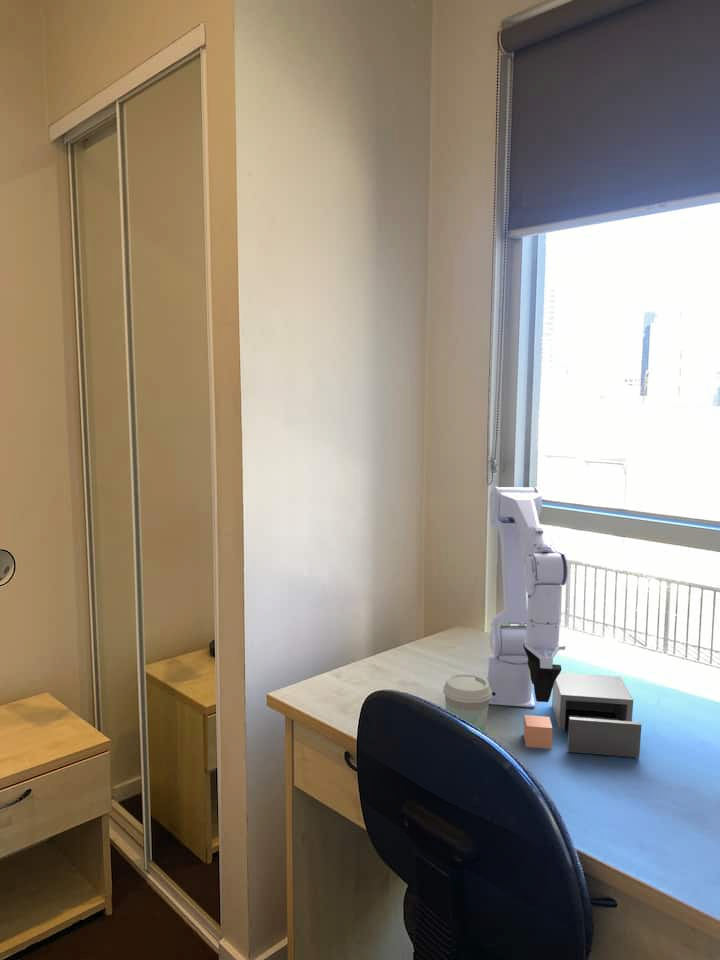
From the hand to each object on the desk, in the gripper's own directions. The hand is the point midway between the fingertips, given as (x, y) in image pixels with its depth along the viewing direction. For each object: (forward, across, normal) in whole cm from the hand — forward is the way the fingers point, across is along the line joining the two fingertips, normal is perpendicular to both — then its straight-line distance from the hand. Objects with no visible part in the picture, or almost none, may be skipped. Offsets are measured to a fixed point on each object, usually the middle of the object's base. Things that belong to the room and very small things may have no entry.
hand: (539, 692), depth 130 cm
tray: (+9, +2, -11) cm, 14 cm away
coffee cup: (+10, -4, +13) cm, 17 cm away
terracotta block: (+10, 0, 0) cm, 10 cm away
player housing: (+9, +10, -11) cm, 18 cm away
